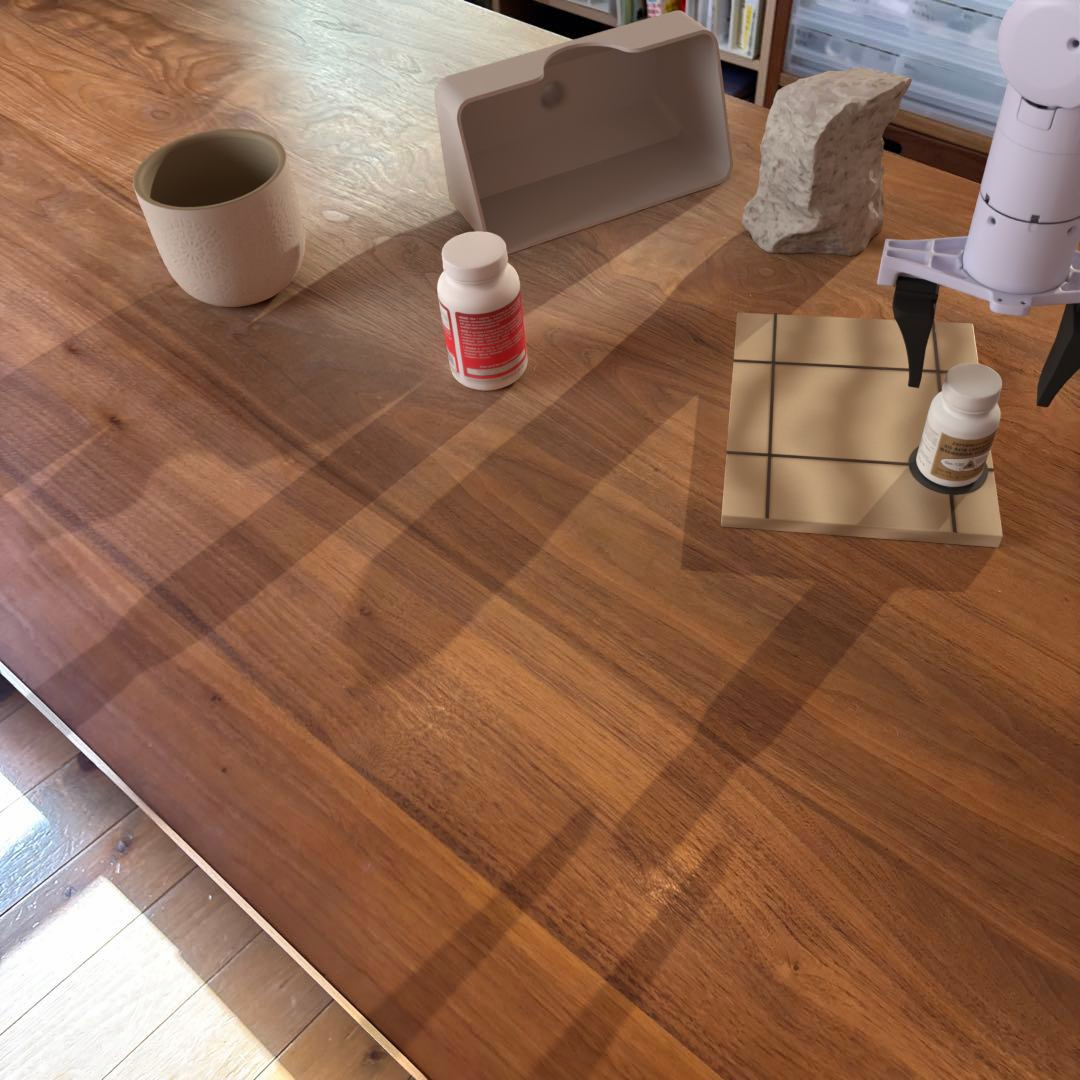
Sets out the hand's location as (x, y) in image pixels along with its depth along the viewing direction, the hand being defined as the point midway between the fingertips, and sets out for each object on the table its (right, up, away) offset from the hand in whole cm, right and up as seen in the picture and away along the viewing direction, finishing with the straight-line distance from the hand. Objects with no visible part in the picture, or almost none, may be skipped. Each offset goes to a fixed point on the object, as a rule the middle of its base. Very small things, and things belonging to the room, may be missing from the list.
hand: (977, 386), depth 70 cm
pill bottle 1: (-32, +4, +18) cm, 37 cm away
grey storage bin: (-24, +25, +36) cm, 50 cm away
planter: (-54, +13, +28) cm, 62 cm away
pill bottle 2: (0, -5, +6) cm, 8 cm away
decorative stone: (-4, +17, +27) cm, 32 cm away
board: (-5, -1, +11) cm, 12 cm away
